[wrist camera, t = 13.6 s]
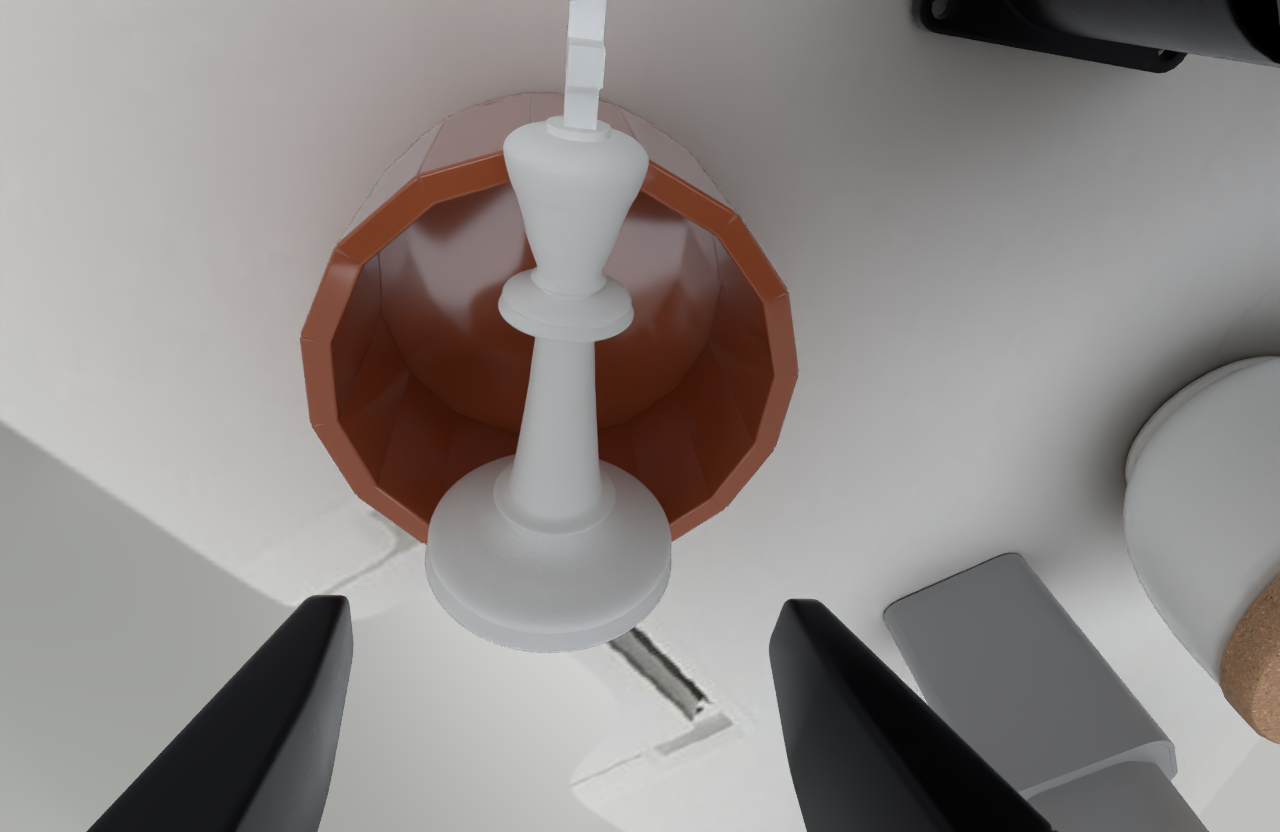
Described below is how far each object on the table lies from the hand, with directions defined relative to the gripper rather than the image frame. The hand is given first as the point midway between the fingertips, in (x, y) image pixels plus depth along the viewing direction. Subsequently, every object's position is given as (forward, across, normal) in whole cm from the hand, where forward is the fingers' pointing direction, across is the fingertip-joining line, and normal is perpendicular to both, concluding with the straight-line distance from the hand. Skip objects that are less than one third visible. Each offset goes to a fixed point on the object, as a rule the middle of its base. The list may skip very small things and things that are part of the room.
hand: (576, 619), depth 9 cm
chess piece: (+5, 0, +4) cm, 6 cm away
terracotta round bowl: (+10, 0, 0) cm, 10 cm away
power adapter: (+10, -16, +11) cm, 22 cm away
